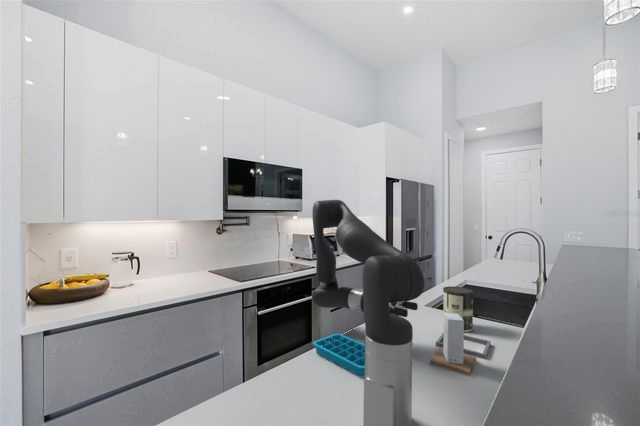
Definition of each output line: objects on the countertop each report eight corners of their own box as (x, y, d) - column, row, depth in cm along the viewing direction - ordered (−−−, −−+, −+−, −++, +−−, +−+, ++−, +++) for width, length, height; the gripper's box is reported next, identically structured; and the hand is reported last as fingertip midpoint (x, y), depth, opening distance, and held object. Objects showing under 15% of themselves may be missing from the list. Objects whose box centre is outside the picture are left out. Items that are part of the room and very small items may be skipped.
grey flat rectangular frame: (485, 359, 86) (485, 355, 86) (435, 345, 94) (435, 342, 94) (490, 344, 95) (490, 341, 95) (445, 334, 103) (445, 330, 104)
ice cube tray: (337, 342, 97) (337, 332, 97) (389, 365, 82) (389, 355, 82) (310, 352, 89) (310, 342, 89) (362, 381, 74) (362, 369, 74)
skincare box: (464, 364, 80) (464, 320, 80) (447, 363, 81) (447, 319, 81) (458, 354, 86) (458, 313, 86) (442, 353, 87) (443, 312, 87)
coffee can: (467, 323, 115) (467, 286, 115) (477, 333, 104) (477, 293, 105) (439, 321, 116) (440, 285, 116) (446, 331, 106) (447, 292, 106)
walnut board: (469, 376, 76) (469, 372, 76) (430, 364, 82) (430, 360, 82) (476, 361, 84) (476, 357, 84) (439, 351, 90) (439, 347, 90)
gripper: (354, 293, 93) (403, 302, 83) (374, 286, 105) (420, 293, 95) (354, 317, 93) (403, 329, 83) (374, 307, 104) (420, 316, 95)
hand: (412, 309), depth 89 cm, fingers open, 8 cm apart
